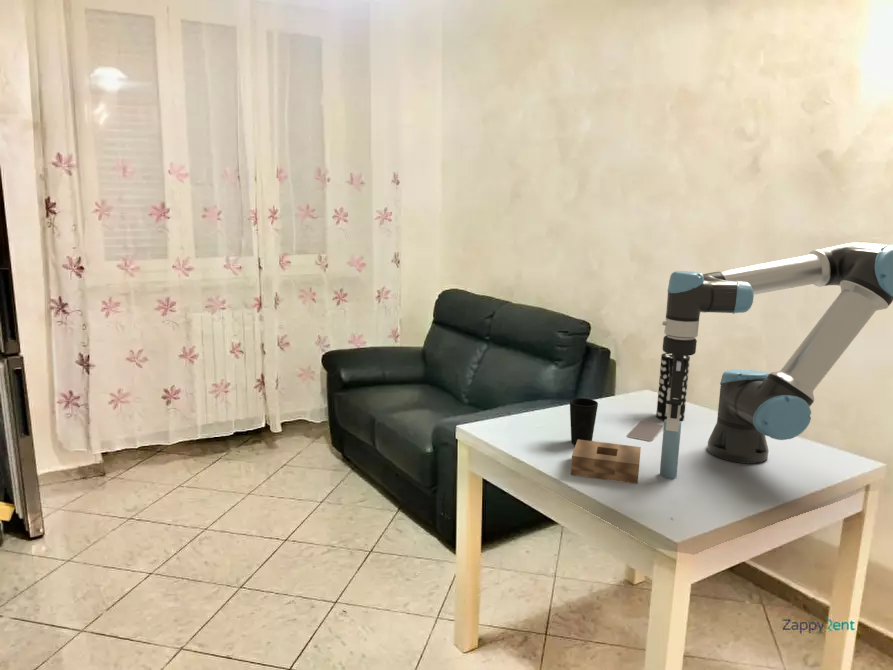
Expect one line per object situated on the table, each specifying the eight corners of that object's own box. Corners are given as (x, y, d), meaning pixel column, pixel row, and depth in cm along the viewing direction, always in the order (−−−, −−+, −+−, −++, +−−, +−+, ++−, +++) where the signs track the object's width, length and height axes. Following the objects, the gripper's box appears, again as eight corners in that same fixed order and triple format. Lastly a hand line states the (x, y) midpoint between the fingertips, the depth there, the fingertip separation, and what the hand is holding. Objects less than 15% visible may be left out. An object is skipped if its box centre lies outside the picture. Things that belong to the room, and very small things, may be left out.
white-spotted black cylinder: (686, 416, 210) (692, 355, 206) (680, 424, 203) (686, 360, 199) (660, 411, 214) (665, 351, 210) (653, 418, 207) (658, 356, 203)
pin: (676, 473, 166) (681, 420, 163) (676, 479, 162) (681, 425, 160) (659, 471, 167) (664, 418, 164) (659, 477, 164) (664, 423, 161)
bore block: (639, 465, 171) (640, 447, 170) (637, 484, 159) (639, 464, 158) (576, 457, 175) (577, 439, 174) (570, 474, 164) (571, 455, 163)
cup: (595, 449, 181) (598, 407, 179) (567, 446, 183) (569, 405, 180) (595, 439, 189) (597, 399, 186) (567, 437, 190) (570, 397, 188)
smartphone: (625, 435, 191) (640, 420, 204) (625, 438, 191) (640, 423, 204) (651, 440, 187) (664, 425, 200) (651, 443, 188) (664, 427, 200)
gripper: (663, 326, 170) (655, 405, 175) (663, 345, 147) (655, 436, 151) (694, 328, 168) (686, 408, 173) (699, 348, 145) (689, 440, 149)
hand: (671, 421), depth 162 cm, fingers open, 13 cm apart
